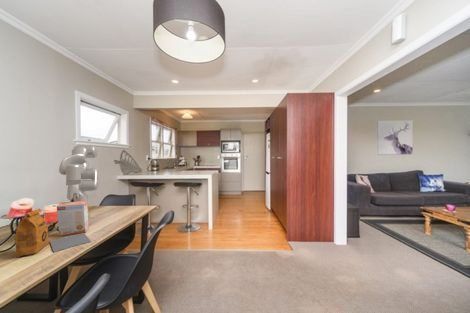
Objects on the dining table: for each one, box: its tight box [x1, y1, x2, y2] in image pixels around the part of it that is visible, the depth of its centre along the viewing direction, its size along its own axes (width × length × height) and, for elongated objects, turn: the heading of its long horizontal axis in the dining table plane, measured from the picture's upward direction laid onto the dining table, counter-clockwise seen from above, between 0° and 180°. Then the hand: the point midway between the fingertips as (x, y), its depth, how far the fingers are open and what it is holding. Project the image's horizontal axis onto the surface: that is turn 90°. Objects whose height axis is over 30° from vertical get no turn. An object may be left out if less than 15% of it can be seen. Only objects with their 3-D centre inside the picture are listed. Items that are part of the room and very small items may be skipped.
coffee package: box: [14, 208, 49, 258], centre depth 98 cm, size 10×12×22 cm
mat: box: [49, 233, 92, 253], centre depth 108 cm, size 18×16×1 cm
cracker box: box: [56, 201, 90, 237], centre depth 120 cm, size 14×6×21 cm, turn 112°
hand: (73, 209), depth 123 cm, fingers closed
